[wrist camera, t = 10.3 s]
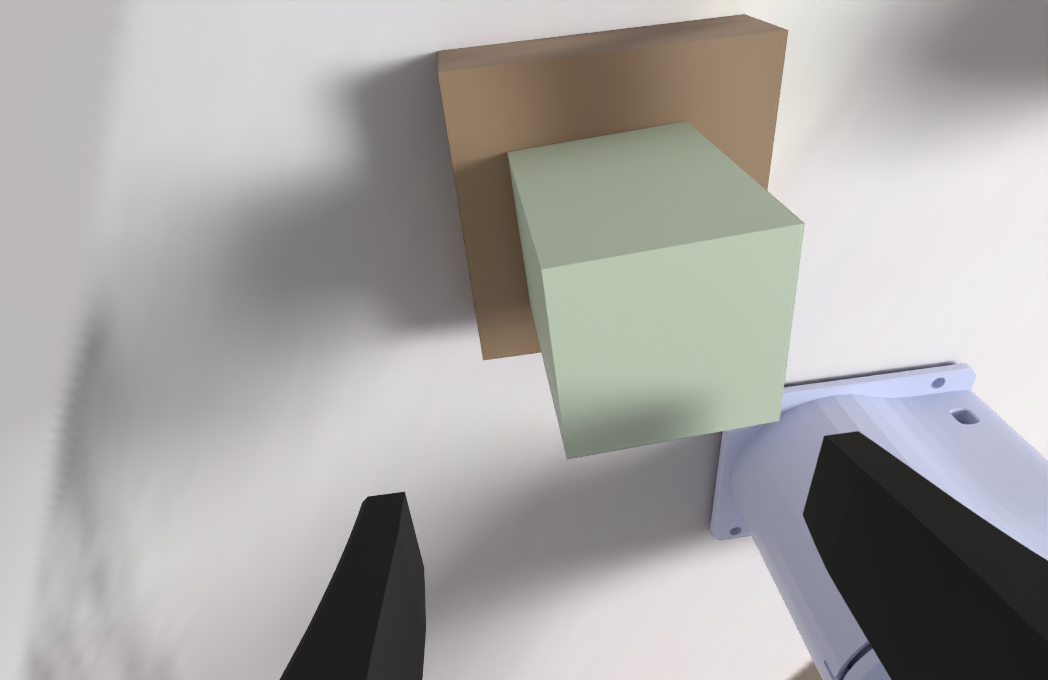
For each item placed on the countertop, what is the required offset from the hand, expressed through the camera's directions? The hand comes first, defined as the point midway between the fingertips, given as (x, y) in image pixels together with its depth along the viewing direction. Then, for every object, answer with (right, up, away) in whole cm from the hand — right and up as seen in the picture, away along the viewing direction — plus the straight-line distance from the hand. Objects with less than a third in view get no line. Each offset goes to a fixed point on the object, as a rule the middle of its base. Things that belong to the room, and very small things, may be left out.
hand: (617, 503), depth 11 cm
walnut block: (0, +8, +8) cm, 11 cm away
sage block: (0, +6, +6) cm, 8 cm away
